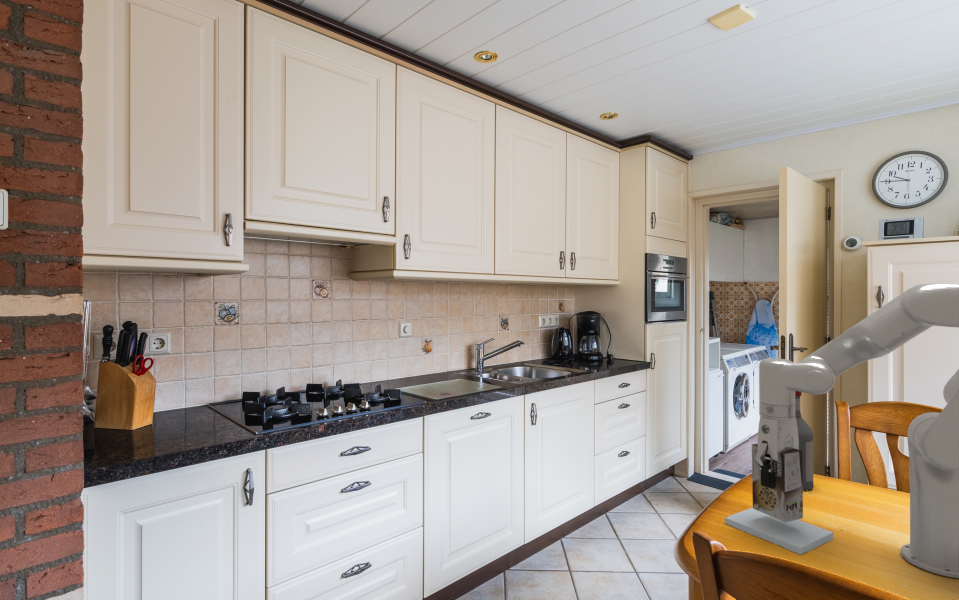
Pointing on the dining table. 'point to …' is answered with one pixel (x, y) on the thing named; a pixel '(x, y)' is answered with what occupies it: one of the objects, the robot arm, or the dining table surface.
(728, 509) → the dining table surface
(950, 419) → the robot arm
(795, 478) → the coffee box
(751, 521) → the chopping board
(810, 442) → the liquor
